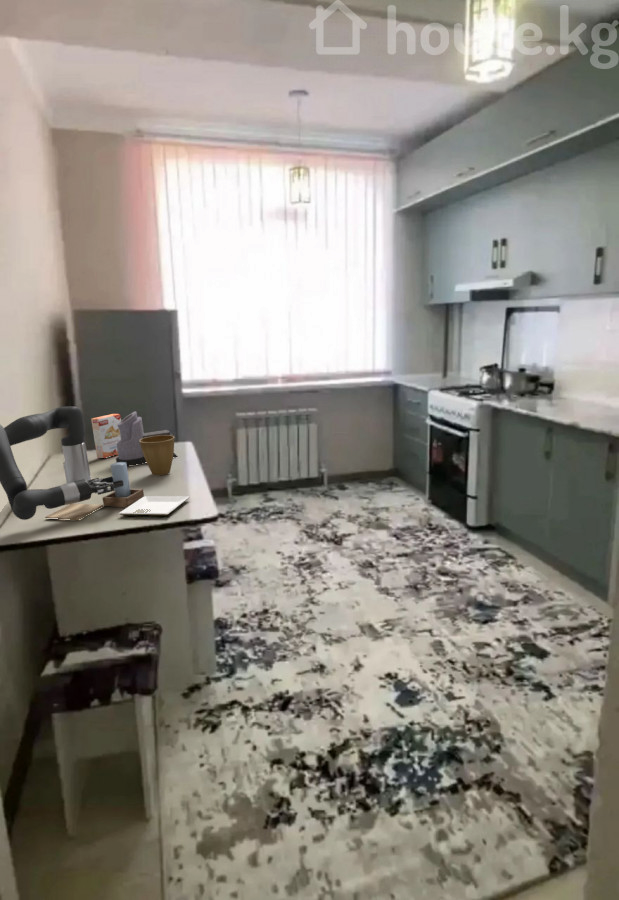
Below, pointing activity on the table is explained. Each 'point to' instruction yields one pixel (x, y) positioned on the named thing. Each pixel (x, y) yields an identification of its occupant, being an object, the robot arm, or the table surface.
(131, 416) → the grey boots
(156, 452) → the plant pot
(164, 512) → the plate
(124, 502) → the holder
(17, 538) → the table surface
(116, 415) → the cracker box
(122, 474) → the cylinder
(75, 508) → the wooden board
